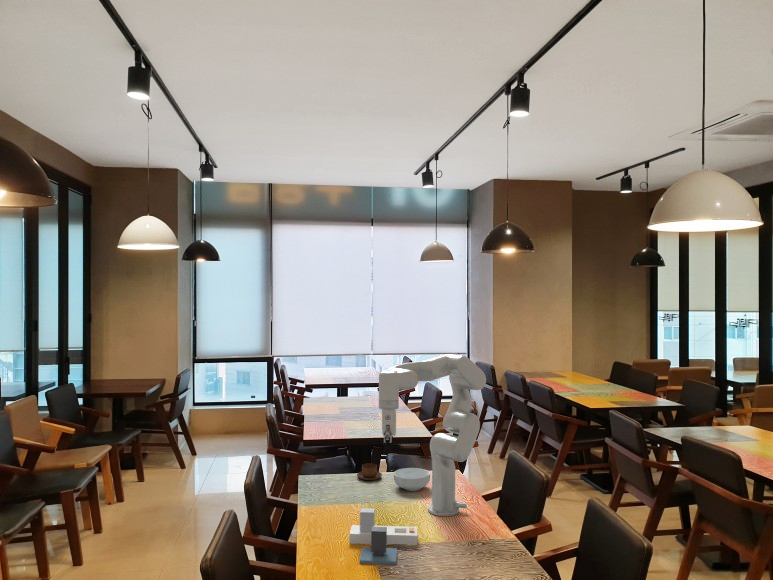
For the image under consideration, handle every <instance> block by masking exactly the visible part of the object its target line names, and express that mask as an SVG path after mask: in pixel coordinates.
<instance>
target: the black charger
mask: <svg viewBox="0 0 773 580" xmlns="http://www.w3.org/2000/svg"><path fill="white" fill-rule="evenodd" d="M370 548H371V552H374V556H383V557H384V553H386V549H387V548H388V545H387V527H372V530H371V544H370Z"/></svg>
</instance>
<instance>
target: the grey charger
mask: <svg viewBox="0 0 773 580" xmlns="http://www.w3.org/2000/svg"><path fill="white" fill-rule="evenodd" d="M375 510H376V509H375V508H373V507H372V508H370V507H369V508H368V507H367V508H366V507H361V508H360V511H359V525H360V532H371V530H372V527H375V526H376V525H375V516H376V515H375V514H376V513H375V512H376V511H375Z"/></svg>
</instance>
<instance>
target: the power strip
mask: <svg viewBox="0 0 773 580" xmlns="http://www.w3.org/2000/svg"><path fill="white" fill-rule="evenodd" d="M375 527H387V544H409V545H408V546H411V545H417V546H418V526H407V525H406V526H402V525H401V526H400V525H399V526H397V525H375ZM358 543H361V544H360V545H371V532H360V524H351V527H350V531H349V544H352V545H359V544H358Z"/></svg>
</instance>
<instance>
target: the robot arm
mask: <svg viewBox="0 0 773 580" xmlns="http://www.w3.org/2000/svg"><path fill="white" fill-rule="evenodd" d="M445 377H448V380H449V383H450V386H451V390H452V398H451V401H450V403H449V406H448V408H447V411H446V413H445V415H444V417H443V420H442V426H443V427H442V428H443V429H444V430H446V431H447V432H449V433H452V434H449V433H446V432H438V433H435V434H434V435H432V437H431V439H430V442H429V450H430V454H431V467H432V468H431V469H432V471H431V475H432V476H431V504H430V505H428V507H427V511H428V512H429V513H430V514H432V515H434V516H438V517H452V516H456V515H457V514H459V513H460V508H461V509H467V508H468V506H467V503H465V502H464V501H457V499H456V465H455V462H460V463H462V462H463V463H464V462H465V461H466V460H467V459H468V458H469V457H470V455H471V453H472V450H473V448H474V445H475V443H476V440H477V437H478V435H479V433H480V428H481V427H480V426H481V422H480V419H479V417H478V416H477V415H476V414H475V413H472V412H470V410H471V408H472V403H473V400H472V396H471V393H470V390H471V391H481V390H483V389H484V388H485V387H486V384H487V378H486V377H487V376H486V374H485V372H484V370H482V369H481V368H480V367H479V366H478V365H477V364H476V363H475V362H473V361H472V359H470V358H469V357H468V356H466V355H461V354H460V355H459V354H450V353H447V354H446V353H445V354H442V355H439V356H436V357H432V358H429V359H426V360H419V361H418V360H417V361H415V362H414V361H413V362H405V363H401V364H397V365H394V366H391V367H389V368H388V369H387V370H382V371H380V372H379V373H378V409H379V410H381V432H382V436H383V442H382V443H383V446H382V447H383V448H382V449H383V452H382V453H383V454H384V455H385V454H386V455H388V454H389V455H391V454H393V447H394V437H395V436H396V435H397V410H398V409H400V405H399V404H400V403H399V399H400V397H399V395H400V390H404V391H405V390H408V391H409V390H413V389H414V388H416V387H417V386H418V384H419V382H432V381H435V380H439V379H442V378H445ZM454 434H456V435H454ZM457 435H458V436H457Z"/></svg>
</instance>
